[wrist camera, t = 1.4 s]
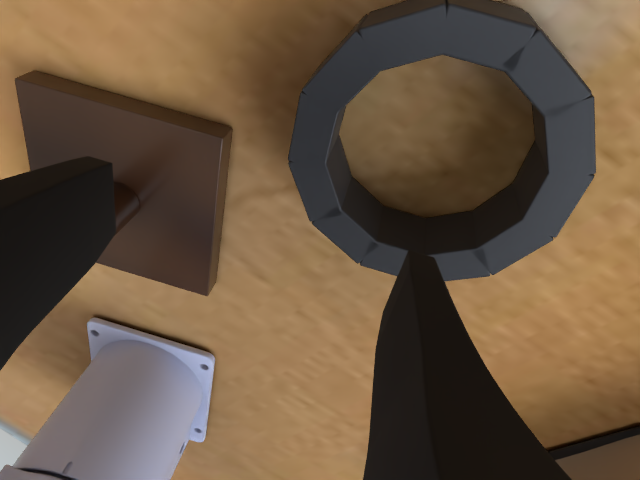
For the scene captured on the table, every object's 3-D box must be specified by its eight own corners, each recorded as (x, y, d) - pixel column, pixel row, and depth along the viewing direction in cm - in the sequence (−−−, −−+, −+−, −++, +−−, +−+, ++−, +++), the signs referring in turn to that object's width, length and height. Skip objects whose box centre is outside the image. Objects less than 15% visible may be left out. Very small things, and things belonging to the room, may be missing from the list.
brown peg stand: (216, 282, 26) (157, 382, 20) (57, 234, 26) (-42, 320, 21) (233, 126, 20) (159, 208, 15) (33, 69, 21) (-109, 128, 15)
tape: (503, 268, 22) (510, 310, 19) (289, 205, 22) (272, 240, 20) (635, 39, 16) (667, 62, 14) (339, -41, 16) (323, -32, 14)
